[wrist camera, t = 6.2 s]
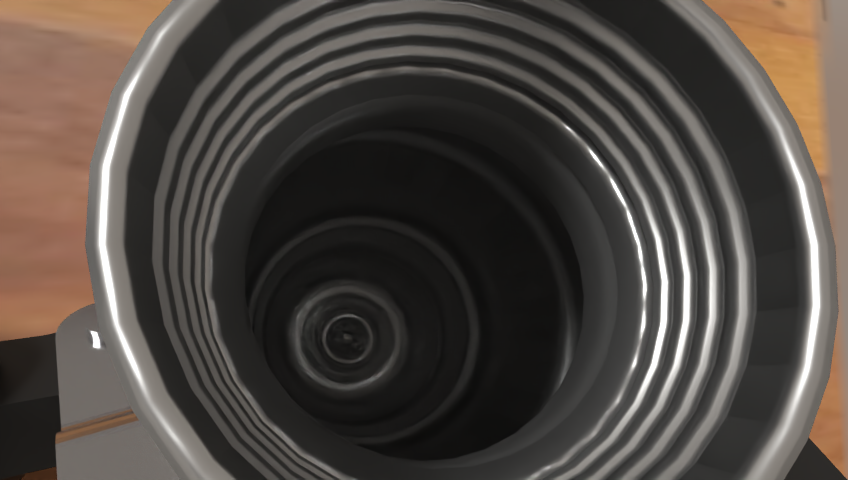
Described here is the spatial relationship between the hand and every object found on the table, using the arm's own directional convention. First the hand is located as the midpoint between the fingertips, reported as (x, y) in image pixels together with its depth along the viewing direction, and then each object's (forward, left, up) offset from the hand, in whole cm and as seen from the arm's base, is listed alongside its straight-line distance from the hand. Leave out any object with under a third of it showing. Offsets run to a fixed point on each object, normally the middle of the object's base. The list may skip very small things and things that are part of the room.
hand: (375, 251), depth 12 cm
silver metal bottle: (+1, -1, -11) cm, 11 cm away
